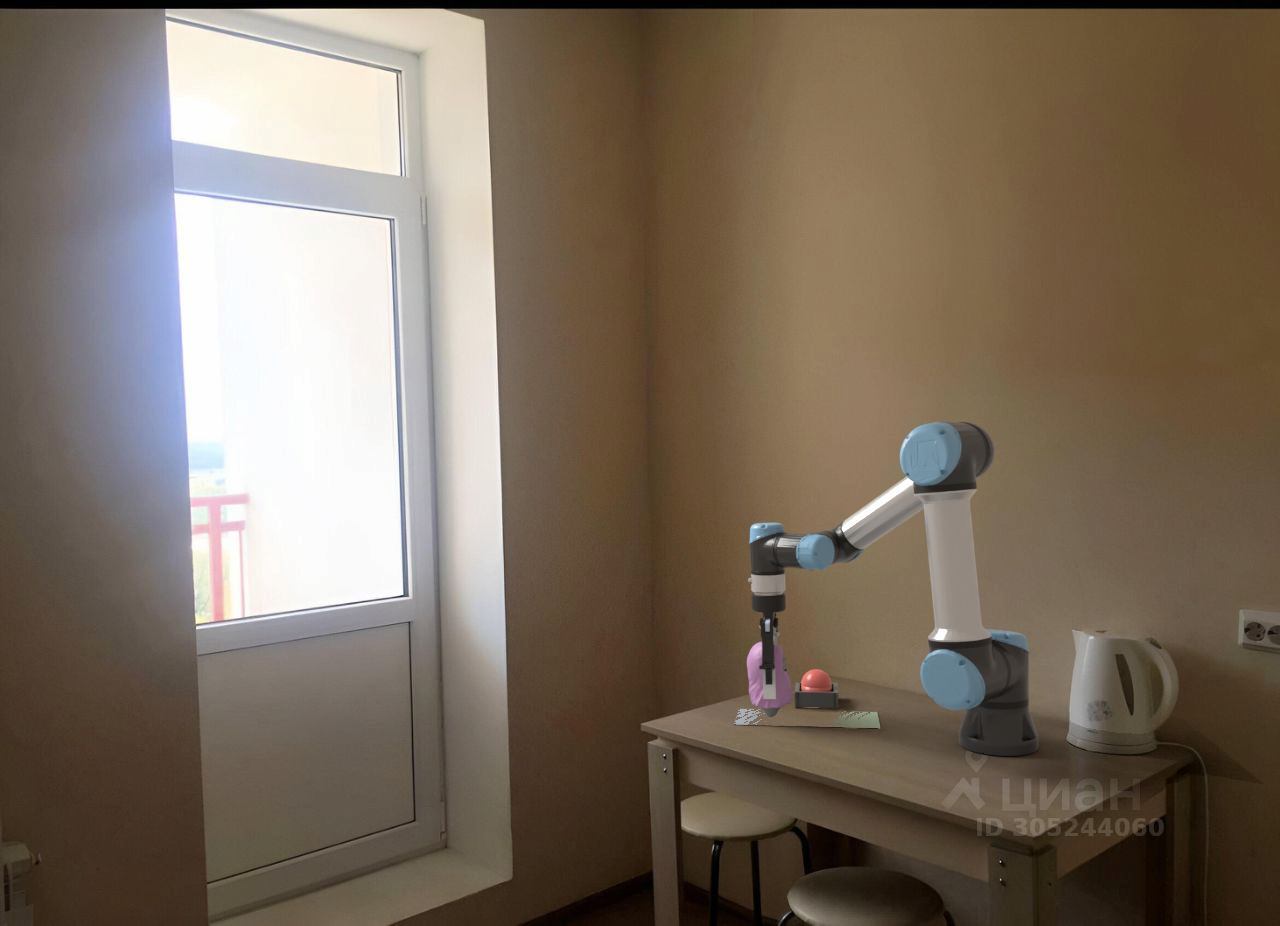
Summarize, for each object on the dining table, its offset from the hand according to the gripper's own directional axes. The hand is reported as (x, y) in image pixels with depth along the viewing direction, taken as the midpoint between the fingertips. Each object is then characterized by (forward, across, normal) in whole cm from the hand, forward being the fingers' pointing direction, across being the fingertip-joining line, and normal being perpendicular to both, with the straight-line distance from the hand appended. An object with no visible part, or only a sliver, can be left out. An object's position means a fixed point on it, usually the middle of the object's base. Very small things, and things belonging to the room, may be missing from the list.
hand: (770, 692), depth 234 cm
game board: (+6, 0, +8) cm, 10 cm away
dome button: (+5, -14, +10) cm, 18 cm away
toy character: (+5, 0, 0) cm, 5 cm away
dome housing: (+6, -14, +10) cm, 18 cm away
